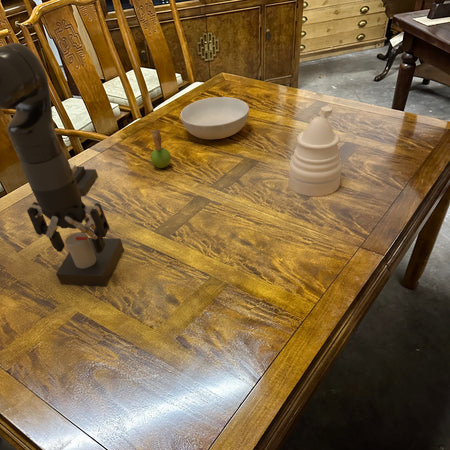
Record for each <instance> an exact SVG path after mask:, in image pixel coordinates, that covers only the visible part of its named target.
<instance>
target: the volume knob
mask: <svg viewBox="0 0 450 450" xmlns="http://www.w3.org/2000/svg"><path fill="white" fill-rule="evenodd" d="M89 238H90V237H89V235H88V234H87V233H82V232H81V231H77V232H74V233H71V234H69V235H68V236H67V237H65V241H64V243H65V245H66V247H67V250H68V253H69V252H70V254H71V256H72V259H73V261H74V263H75V265H76V267H78V268H81V269H84V268H88V267H91V266H92V265H94V264H95V262H96V256H95V254H94V251H93V248H92V246H91V243H90V241H89Z"/></svg>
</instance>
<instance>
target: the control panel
mask: <svg viewBox="0 0 450 450" xmlns="http://www.w3.org/2000/svg"><path fill="white" fill-rule="evenodd" d="M88 238H89V241H90V243H91V246H92V248H93V251H94V254H95V256H96V262H95V264H94V265H92V266H91V267H88V268H84V269H81V268H78V267H76V265H75V263H74V261H73V259H72V256H71V254H70V252H69V251H68V253H67V255H66V256H65V258H64V260H63V261H62V262H61V265H60V266H59V268H58V269H57V271H56V273H55V275H56V277H57V279H58V281H59V283H60V285H66V286H67V285H69V286H85V287H86V286H87V287H107V286H108V283H109V281H110V280H111V278H112V276H113V273H114V271H115V269H116V267H117V265H118V263H119V262H120V258H121V256H122V254H123V252H124V250H125V248H124V246H123V242H122V238H114V237H113V238H110V237H109V238H108V237H103V239H104V242H105V248H104V250H103V251H102V253H97V252H96V249H95V247H94V244H93V242H92V237H88Z"/></svg>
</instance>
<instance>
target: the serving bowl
mask: <svg viewBox="0 0 450 450" xmlns="http://www.w3.org/2000/svg"><path fill="white" fill-rule="evenodd" d="M249 115H250V106H249V105H248V104H247V103H246V102H245V101H244V100H242V99H239V98H235V97H229V96H215V97H214V96H213V97H207V98H202V99H198V100H196V101H193V102H191V103H189V104H187V105H186V106H184V107H183V109H182V110H181V112H180V115H179V116H180V120H181V123H182V125H183V127H184V128H185V130H186V131H187V132H188V133H189V134H191V136H193V137H196V138H199V139H203V140H220V139H221V140H222V139H225V138H229V137H231V136H233V135H236V134H237V133H239V132H240V131H241V130H242V129H243V128H244V127H245V125H246V123H247V122H248V119H249Z"/></svg>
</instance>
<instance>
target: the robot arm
mask: <svg viewBox="0 0 450 450" xmlns="http://www.w3.org/2000/svg"><path fill="white" fill-rule="evenodd" d="M50 93H51V92H50V85H49V81H48V77H47V73H46V71H45V67H44V65H43V64H42V62H41V61H40V59H39V57H38V56H37V55H36V53H35V52H34V51H33V50H32V49H30V48H29V47H28V46H26V45H24V44H23V43H19V42H10V43H7V44H4V45H2V46H0V110H3V111H7V110H11V109H14V108H15V113H14V115H13V117H12V118H11V119H10V121H9V122H8V124H7V127H6V129H7V130H6V131H7V134H8V137H9V140H10V142H11V144H12V146H13V148H14V150H15V152H16V155H17V157H18V159H19V161H20V164H21V167H22V171H23V173H24V176H25V178H26V180H27V183H28V185H29V187H30V189H31V191H32V193H33V195H34V198H35V201H34V202H32V203H31V204H30V206H29V207H28V208H27V210H26V213H27V215H28V217H29V219H30V221H31V224H32V226H33V229H34V231H35V233H36V235H38V236H42V235H44V236H46V238H48V239H49V242H50V244H51V245H52V248H53V249H54V250H56V252H58V253H62V252H63V250H64V249H65V245H66V244H65V241H64V240H63V238H62V236H61V234H60V232H59V231H58V228H60V229H72V230H73V229H74V230H79V232H82V233H86V234H87V236H88V237H89V238H92V242H93V244H94V247H95V249H96V252H97V253H102V251H103V250H104V248H105V242H104V239H103V238H106V236H107V234H108V232H109V230H110V225H109V222H108V220H107V217H106V215H105V213H104V209H103V207H102V205H101V204H100V203H97V202H96V203H95V204H94V205H90V206H88V205H85V203H84V202H83V200H82V196H81V194H80V191H79V188H78V186H77V183H76V180H75V177H74V175H73V171H72V169H71V167H70V165H71V164H70V162H69V159H68V157H67V155H66V153H65V152H64V150H63V146H62V145H61V142H60V139H59V136H58V134H57V131H56V128H55V126H54V121H53V109H52V101H51V94H50ZM45 217H46V218H47V219H48V220H50V222H49V224H47V222H46V219H45ZM83 222H85V224H83Z"/></svg>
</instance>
